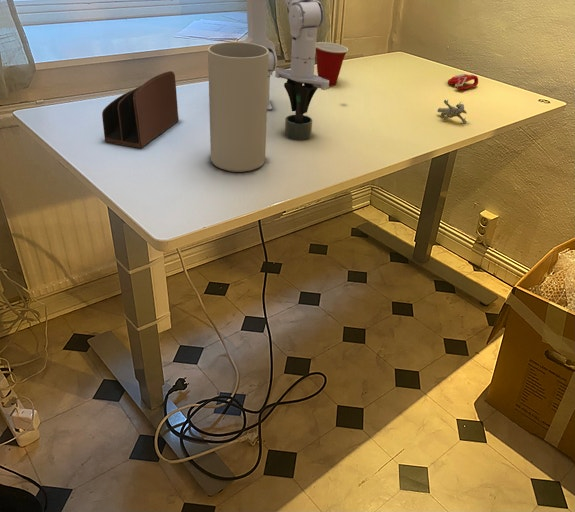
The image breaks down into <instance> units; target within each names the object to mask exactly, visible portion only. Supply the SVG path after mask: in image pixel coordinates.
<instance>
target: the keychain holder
mask: <svg viewBox="0 0 575 512" xmlns="http://www.w3.org/2000/svg"><path fill="white" fill-rule="evenodd" d="M472 80H473V83H472V84H469V85H466V86H463V85H464V84H465V83H468V82H470V81H472ZM447 84H450V85H454V87H455V88H457V89H458V90H468V89H471V88H475V87H476V86H478V84H479V77H478V76H477V75H474V74H471V73H470V74H465V73H463V74H462V73H461V74H457V75H454V76H452V77H451V78H449V79H447Z"/></svg>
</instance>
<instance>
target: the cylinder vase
mask: <svg viewBox="0 0 575 512" xmlns="http://www.w3.org/2000/svg"><path fill="white" fill-rule="evenodd" d="M268 60H269V50H268V49H267V48H265V47H263V46H261V45H257V44H252V43H244V42H243V41H228V42H227V41H225V42H218V43H214V44H211V45H210V46H208V48H207V65H208V66H207V68H208V69H207V71H208V98H209V99H208V103H209V105H208V107H209V108H208V109H209V139H210V140H209V141H210V142H209V143H210V145H209V146H210V161H211V163H212V164H213V165H214V166H215V167H216V168H218V169H220V170H222V171H223V170H224V171H228V172H233V173H234V172H235V173H243V172H251V171H254V170H256V169H259V168H261V167H262V166H263V165H264V163H265V162H266V149H267V147H266V146H267V120H268V119H267V118H268V117H267V115H268V110H267V90H268Z"/></svg>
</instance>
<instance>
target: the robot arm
mask: <svg viewBox="0 0 575 512" xmlns="http://www.w3.org/2000/svg"><path fill="white" fill-rule="evenodd" d="M283 1H284V3H285V6H286V7H287V9H288V11H289V12H288V13H287V14H288V15H287V17H288V18H287V19H288V23H289V28H290V30H289V33H290V36H291V38H292V39H291V53H290V54H291V55H290V69H288V68H283V67H279V68H277V67H278V57H277V53H276V45H275V43H274V42H273V41H271V40H270V39H269V38H268V37H267V4H266V3H267V2H266V0H246V1H245V3H246V4H245V5H246V23H247V37H246V38H245V39H244V40H243V41H242V42H244V43H252V44H257V45H261V46H263V47H265V48H267V49H268V50H269V60H268V90H267V111H271V110H273V106H272V104H271V102H270V90H271V89H270V85H271V76H273V73H274V72H275V75H274V77H275V78H277V79H280V78H281V79H285V80H286V82H284V83H283V87H284V89H285V91H286V93H287V95H288V98H289V103H290V107H291V111H292V112H296V94H299V93H300V99H301V104H300V113H301V114H303V115H304V114H306V113H308V110H309V106H310V104H311V101H312V98H313V97H314V95H315V93H316V92H317V90H318V89H320V90H322V91H326V90H328V89H330V88H329V87H330V86H329V80H326V79H323V78H321V77H319V76H318V74H317V75H316V74H315V64H316V43H317V40H318V39H317V37H318V29H319V28H321V26H322V25H323V22H324V18H325V17H324V9H323V6H322V3H321V2H320V1H319V0H283Z"/></svg>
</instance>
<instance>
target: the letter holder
mask: <svg viewBox="0 0 575 512" xmlns="http://www.w3.org/2000/svg"><path fill="white" fill-rule="evenodd" d="M177 95H178V94H177V84H176V75H175V73H174V71H172V70H169V71H166V72H162V73H160V74H158V75H155V76H153V77H152V78H150V79H149V80H147V81H146V82H144V83H143V84H142V85H140V86H138V87H136V88H134V89H132V90H130V91H127V92H125V93H123V94H122V95H120V96H118V97H117V98H115V99H113V100H112V101H111V102H110V103H109V104H107V105H106V106H105V107H104V108H103V110H102V111H101V119H102V126H103V136H104V142H105V143H111V144H115V145H120V146H121V145H122V146H125V147H131V148H138V149H143V148H144V147H145V146H146V145H148V144H150V142H152V141H153V140H154V139H156V138H157V137H158V136H160V135H161V134H163V133H164V132H165V131H167V130H168V129H169V128H172V126H174V125H175V124H176V123H178V122H179V120H180V119H179V117H180V116H179V108H178V107H179V106H178V96H177Z"/></svg>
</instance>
